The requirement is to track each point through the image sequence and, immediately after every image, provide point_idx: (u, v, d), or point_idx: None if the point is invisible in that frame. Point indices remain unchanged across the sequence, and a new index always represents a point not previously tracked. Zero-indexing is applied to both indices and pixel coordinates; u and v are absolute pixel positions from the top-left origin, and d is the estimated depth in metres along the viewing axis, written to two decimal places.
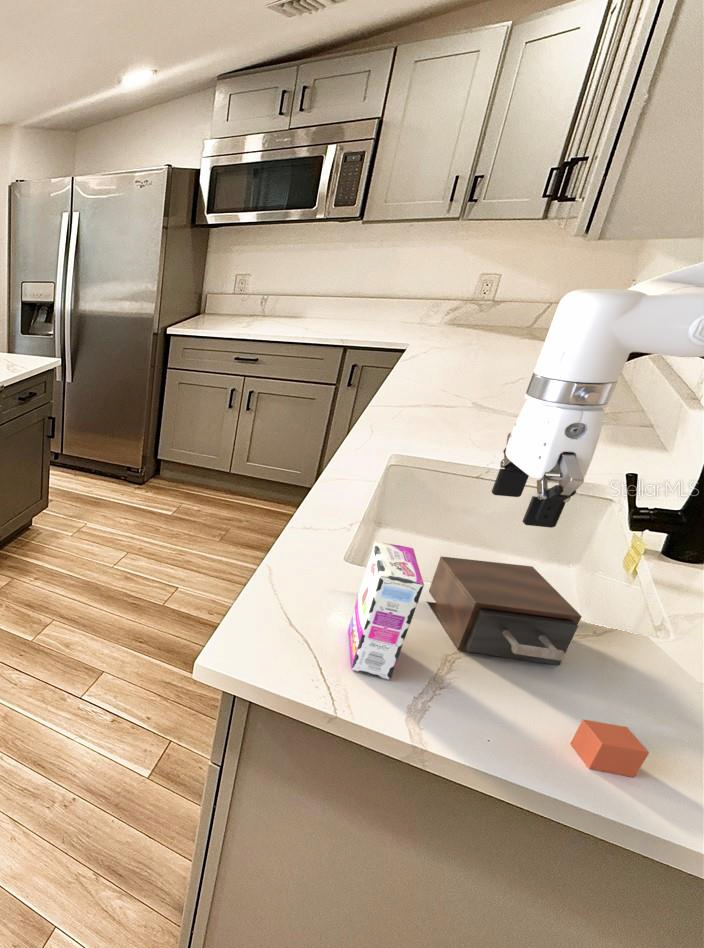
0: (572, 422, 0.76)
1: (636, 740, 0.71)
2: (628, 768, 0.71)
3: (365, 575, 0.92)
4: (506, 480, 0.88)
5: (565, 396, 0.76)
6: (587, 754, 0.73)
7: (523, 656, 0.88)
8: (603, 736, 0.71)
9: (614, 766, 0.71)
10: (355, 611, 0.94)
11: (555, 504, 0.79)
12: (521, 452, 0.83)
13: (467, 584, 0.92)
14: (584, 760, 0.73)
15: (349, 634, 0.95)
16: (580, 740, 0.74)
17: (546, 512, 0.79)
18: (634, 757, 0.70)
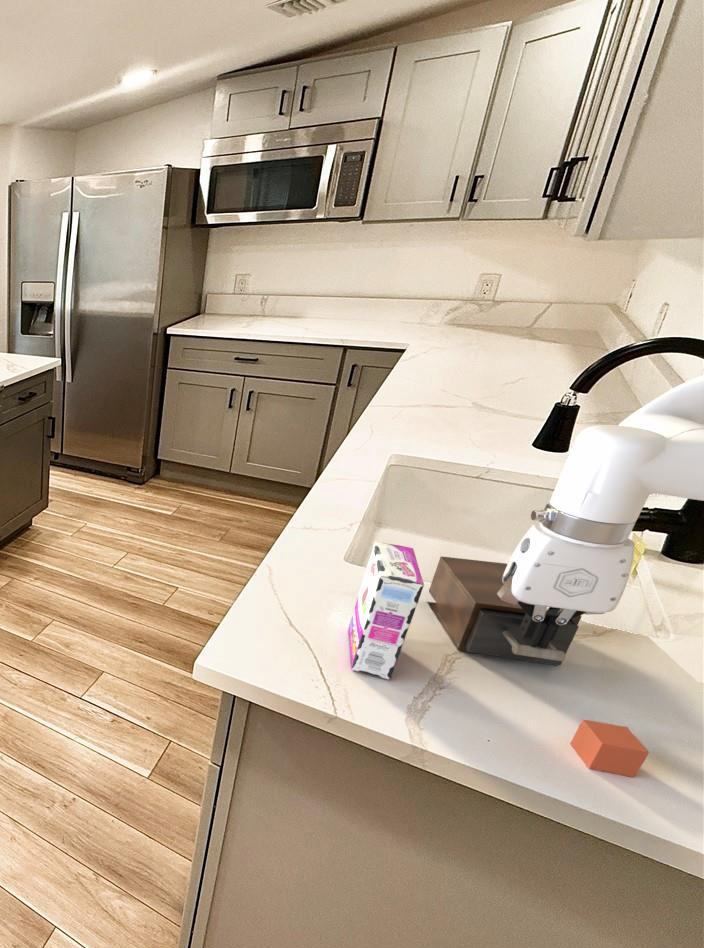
0: (527, 536, 0.80)
1: (636, 740, 0.71)
2: (628, 768, 0.71)
3: (365, 575, 0.92)
4: None
5: None
6: (587, 754, 0.73)
7: (523, 656, 0.88)
8: (603, 736, 0.71)
9: (614, 766, 0.71)
10: (355, 611, 0.94)
11: (529, 618, 0.83)
12: None
13: (467, 584, 0.92)
14: (584, 760, 0.73)
15: (349, 634, 0.95)
16: (580, 740, 0.74)
17: (523, 624, 0.84)
18: (634, 757, 0.70)
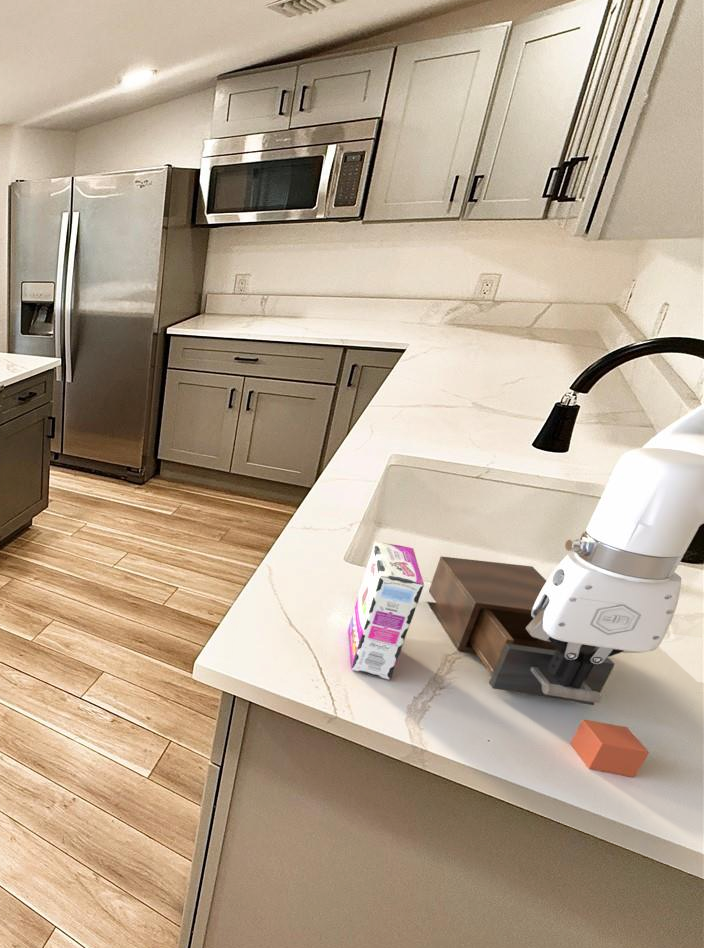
0: (560, 567, 0.73)
1: (636, 740, 0.71)
2: (628, 768, 0.71)
3: (365, 575, 0.92)
4: None
5: None
6: (587, 754, 0.73)
7: None
8: (603, 736, 0.71)
9: (614, 766, 0.71)
10: (355, 611, 0.94)
11: (560, 656, 0.76)
12: None
13: (467, 584, 0.92)
14: (584, 760, 0.73)
15: (349, 634, 0.95)
16: (580, 740, 0.74)
17: (554, 661, 0.77)
18: (634, 757, 0.70)
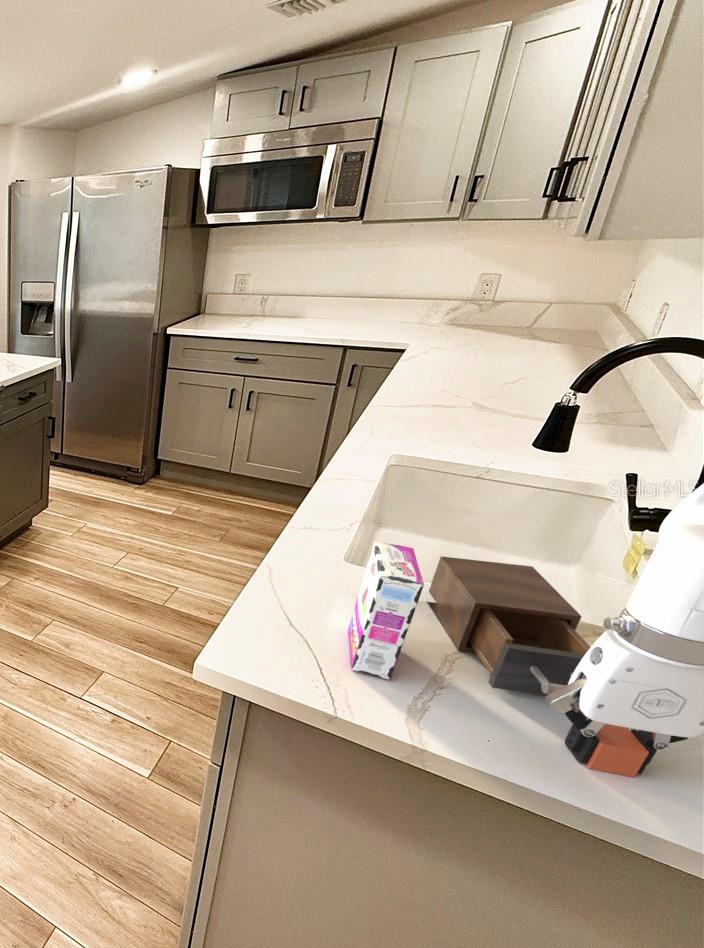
0: (598, 645, 0.69)
1: (636, 740, 0.71)
2: (628, 768, 0.71)
3: (365, 575, 0.92)
4: None
5: None
6: None
7: None
8: (603, 736, 0.71)
9: (614, 766, 0.71)
10: (355, 611, 0.94)
11: (577, 731, 0.73)
12: None
13: (467, 584, 0.92)
14: None
15: (349, 634, 0.95)
16: None
17: (571, 736, 0.73)
18: (634, 757, 0.70)
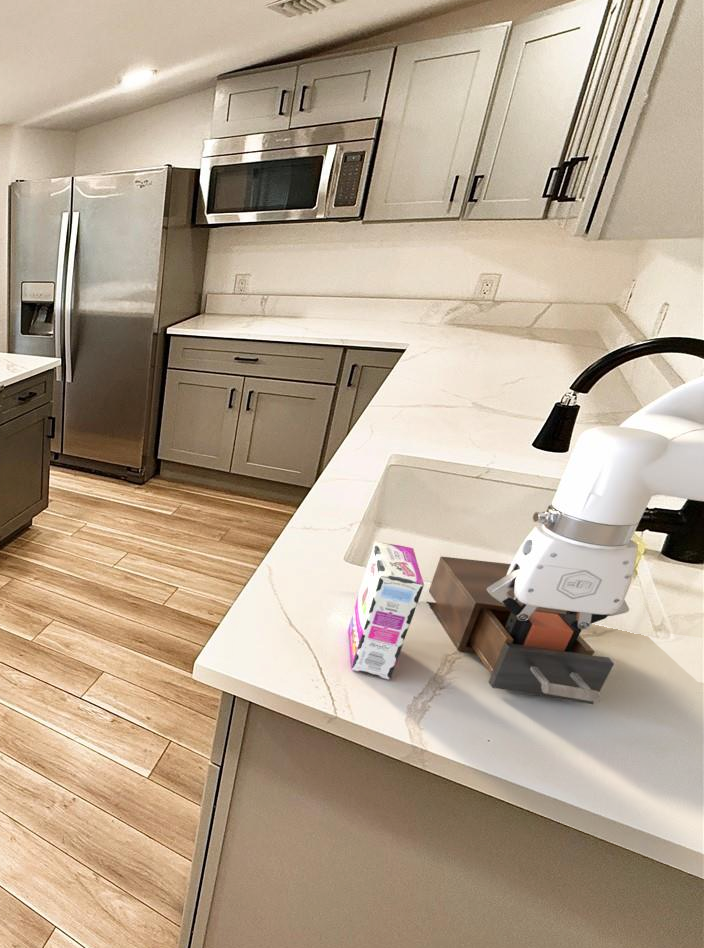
0: (529, 538, 0.80)
1: (564, 623, 0.81)
2: (556, 647, 0.81)
3: (365, 575, 0.92)
4: None
5: None
6: None
7: (553, 694, 0.81)
8: (535, 621, 0.82)
9: (545, 646, 0.82)
10: (355, 611, 0.94)
11: (514, 618, 0.83)
12: None
13: (467, 584, 0.92)
14: None
15: (349, 634, 0.95)
16: None
17: (509, 623, 0.84)
18: (561, 636, 0.80)
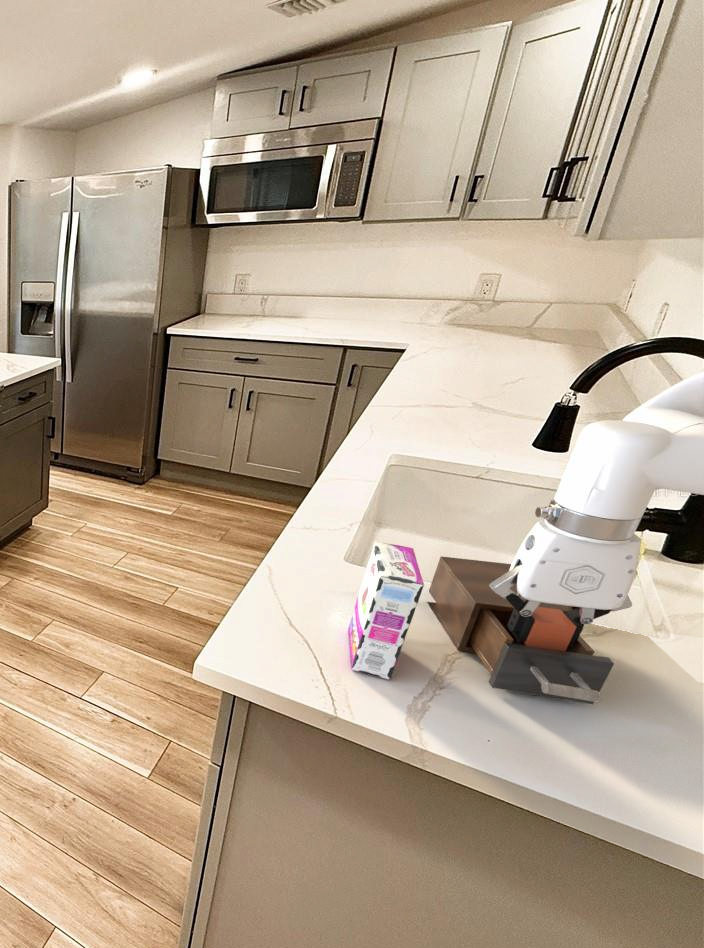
0: (532, 533, 0.79)
1: (567, 618, 0.81)
2: (559, 643, 0.81)
3: (365, 575, 0.92)
4: None
5: None
6: None
7: (553, 694, 0.81)
8: (538, 616, 0.82)
9: (548, 642, 0.81)
10: (355, 611, 0.94)
11: (517, 614, 0.83)
12: None
13: (467, 584, 0.92)
14: None
15: (349, 634, 0.95)
16: None
17: (512, 619, 0.84)
18: (564, 632, 0.80)
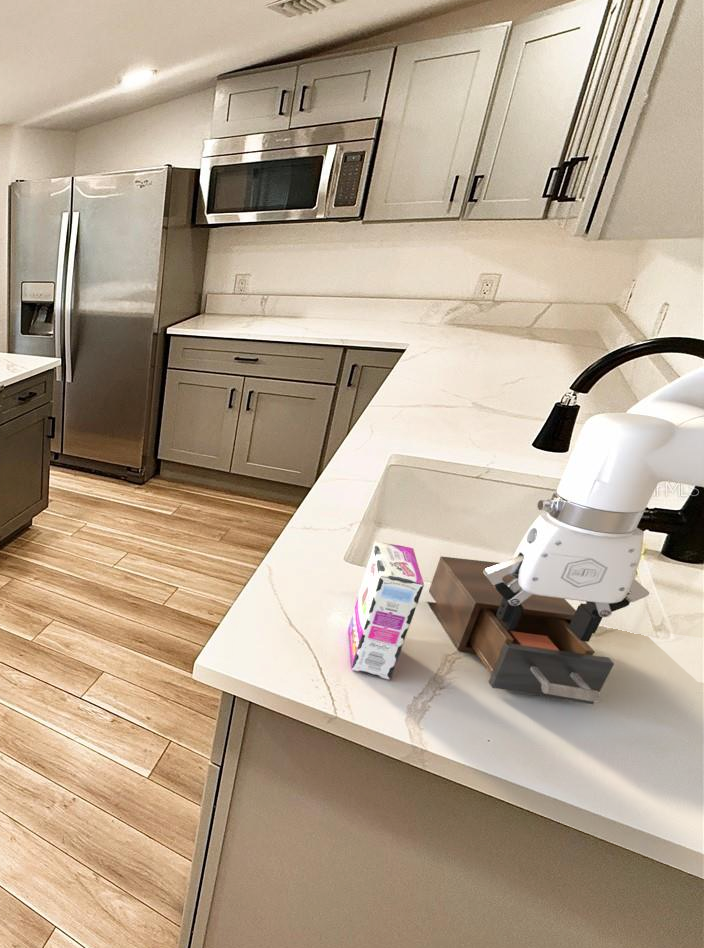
0: (534, 526, 0.79)
1: (553, 645, 0.83)
2: None
3: (365, 575, 0.92)
4: (578, 616, 0.81)
5: None
6: None
7: (553, 694, 0.81)
8: (525, 643, 0.84)
9: None
10: (355, 611, 0.94)
11: (506, 603, 0.83)
12: None
13: (467, 584, 0.92)
14: None
15: (349, 634, 0.95)
16: None
17: (501, 608, 0.84)
18: None
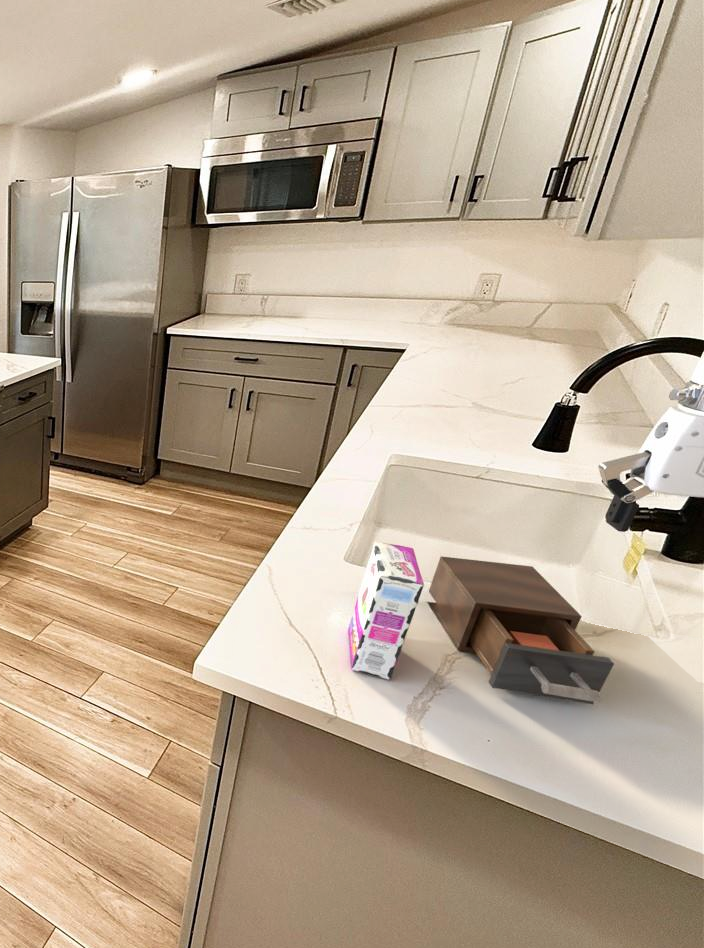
0: (663, 420, 0.74)
1: (553, 645, 0.83)
2: None
3: (365, 575, 0.92)
4: None
5: None
6: None
7: (553, 694, 0.81)
8: (525, 643, 0.84)
9: None
10: (355, 611, 0.94)
11: (618, 501, 0.77)
12: None
13: (467, 584, 0.92)
14: None
15: (349, 634, 0.95)
16: None
17: (611, 509, 0.78)
18: None
